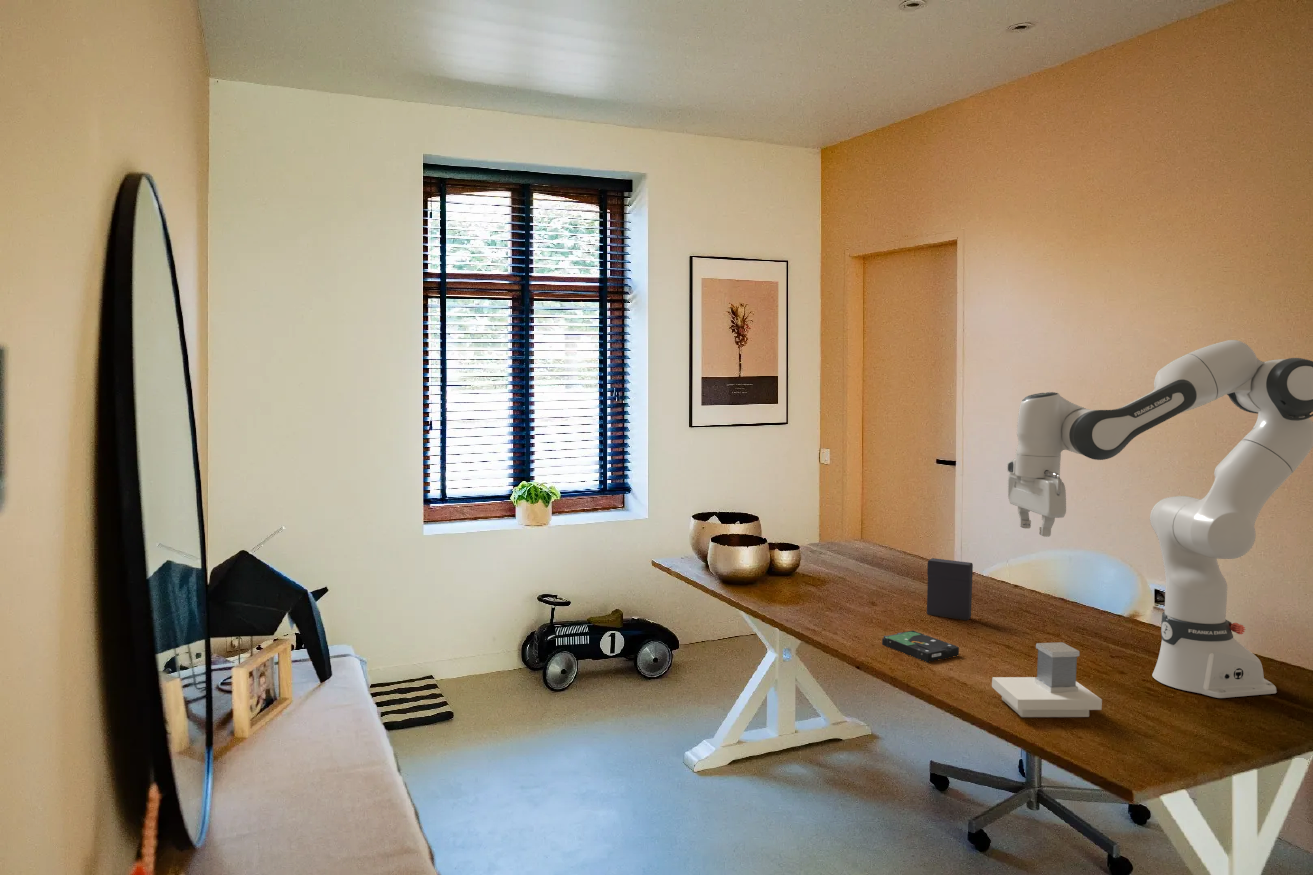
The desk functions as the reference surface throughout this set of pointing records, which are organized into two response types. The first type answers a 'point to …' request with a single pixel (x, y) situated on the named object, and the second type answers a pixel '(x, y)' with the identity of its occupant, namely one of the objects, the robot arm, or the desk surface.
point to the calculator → (949, 588)
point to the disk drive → (920, 646)
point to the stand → (1044, 698)
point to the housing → (1056, 667)
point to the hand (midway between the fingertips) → (1034, 531)
